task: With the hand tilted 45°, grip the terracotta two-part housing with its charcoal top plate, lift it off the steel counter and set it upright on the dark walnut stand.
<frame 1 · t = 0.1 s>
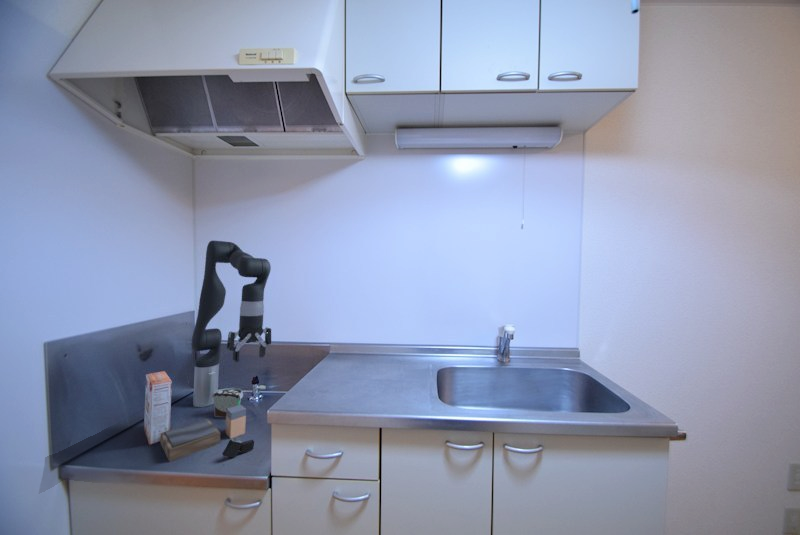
hand: (249, 359, 103), 29 cm above the worktop, tool pointing down, fingers open, 8 cm apart
food container: (230, 414, 122), on the worktop
stand: (190, 443, 100), on the worktop
cracker box: (155, 435, 105), on the worktop
housing: (235, 433, 107), on the worktop
lighter: (238, 454, 95), on the worktop
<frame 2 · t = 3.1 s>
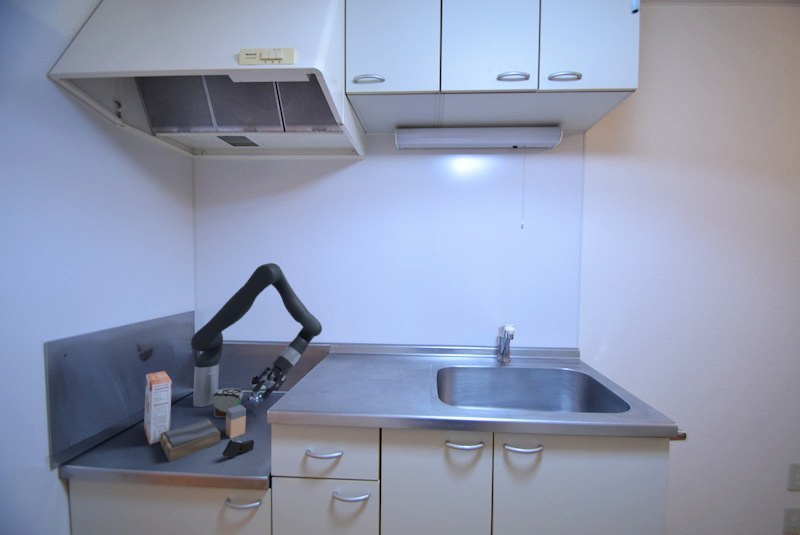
hand: (258, 395, 114), 12 cm above the worktop, tool tilted 45°, fingers open, 8 cm apart
nothing on the worktop moved.
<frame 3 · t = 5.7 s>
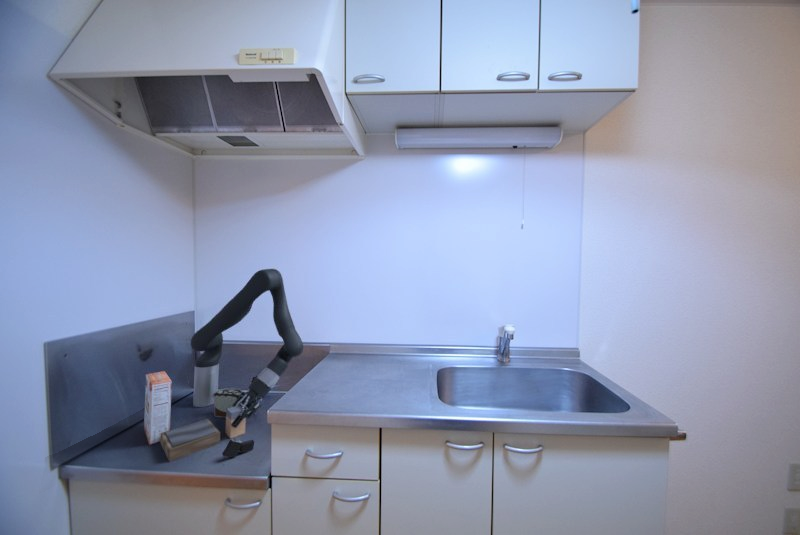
hand: (230, 423, 106), 4 cm above the worktop, tool tilted 45°, fingers closed on housing, 5 cm apart
housing: (235, 433, 107), on the worktop, touching gripper
everything else where it was.
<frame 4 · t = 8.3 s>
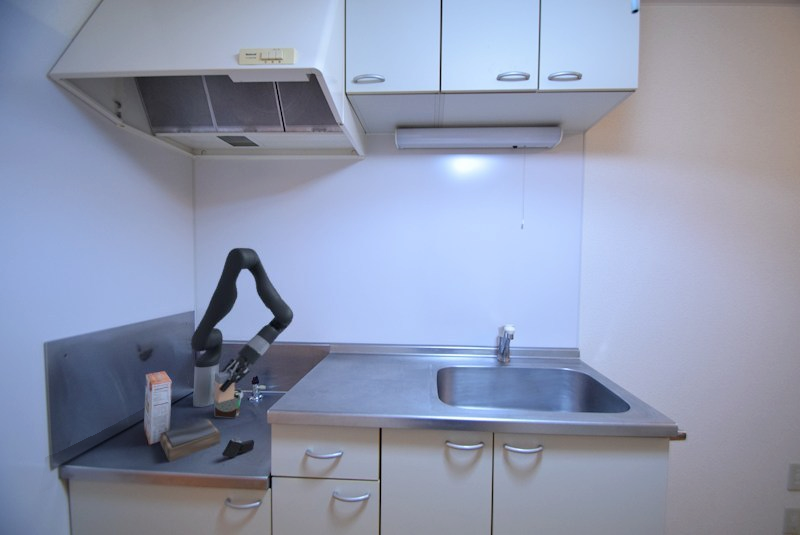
hand: (218, 388, 105), 18 cm above the worktop, tool tilted 45°, fingers closed on housing, 5 cm apart
housing: (223, 398, 106), point 13 cm above the worktop, touching gripper
everything else where it was.
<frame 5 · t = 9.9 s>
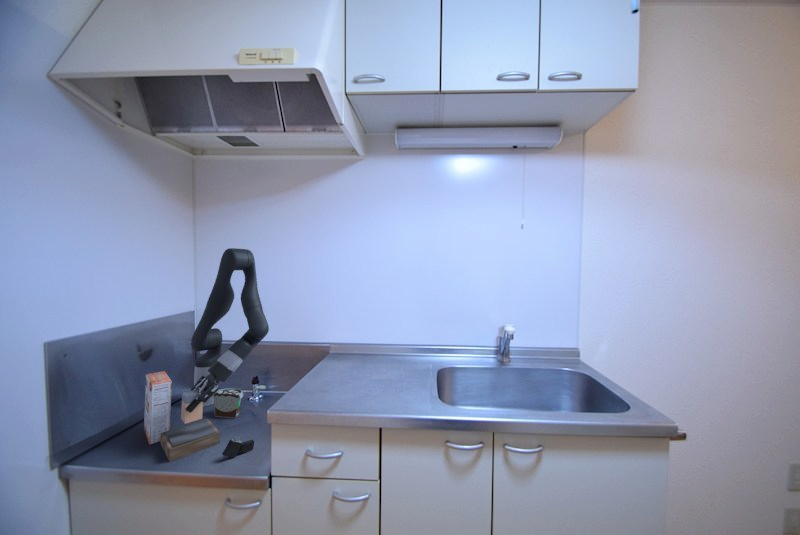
hand: (185, 408, 99), 13 cm above the worktop, tool tilted 45°, fingers closed on housing, 5 cm apart
housing: (191, 418, 100), point 9 cm above the worktop, touching gripper
everything else where it was.
when the fingers open (10 cm above the worktop, at t = 10.9 s): housing drops 1 cm, resting on stand.
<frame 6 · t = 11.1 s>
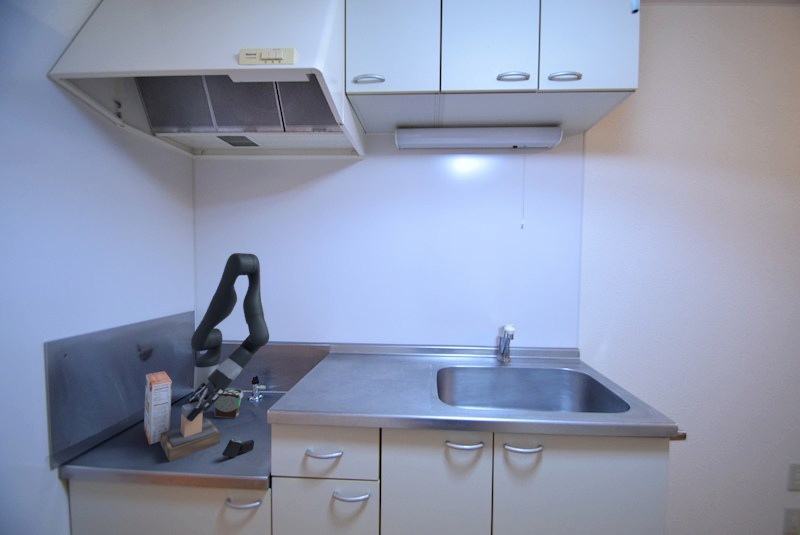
hand: (186, 416, 99), 10 cm above the worktop, tool tilted 45°, fingers open, 6 cm apart
housing: (191, 431, 100), point 4 cm above the worktop, touching stand
everything else where it was.
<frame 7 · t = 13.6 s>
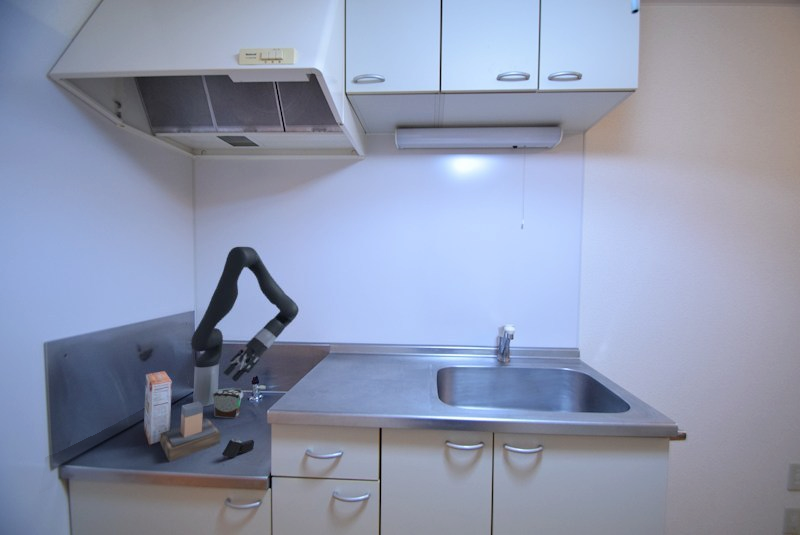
hand: (229, 377, 109), 20 cm above the worktop, tool tilted 45°, fingers open, 8 cm apart
nothing on the worktop moved.
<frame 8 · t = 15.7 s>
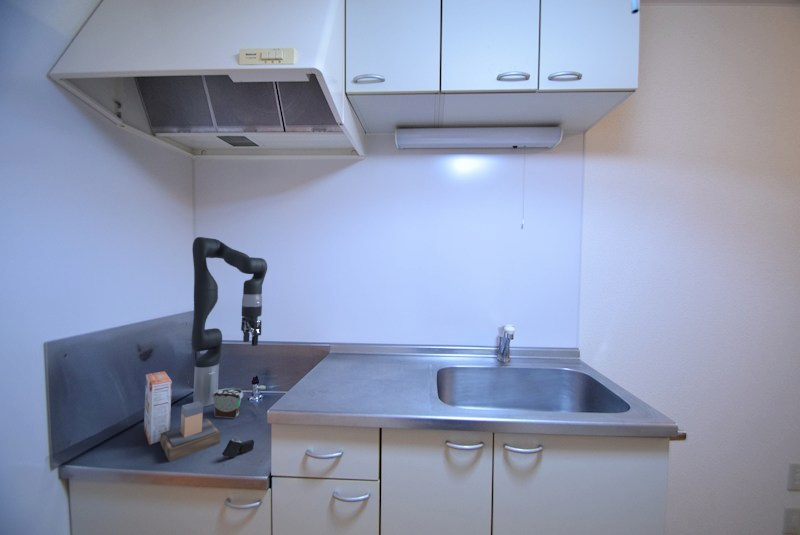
hand: (250, 343, 121), 30 cm above the worktop, tool pointing down, fingers open, 8 cm apart
nothing on the worktop moved.
at the end: housing inside the target area on the stand (0.1 cm from its centre), point 4.0 cm above the stand's base; housing tilted 0°; the gripper is holding nothing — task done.
